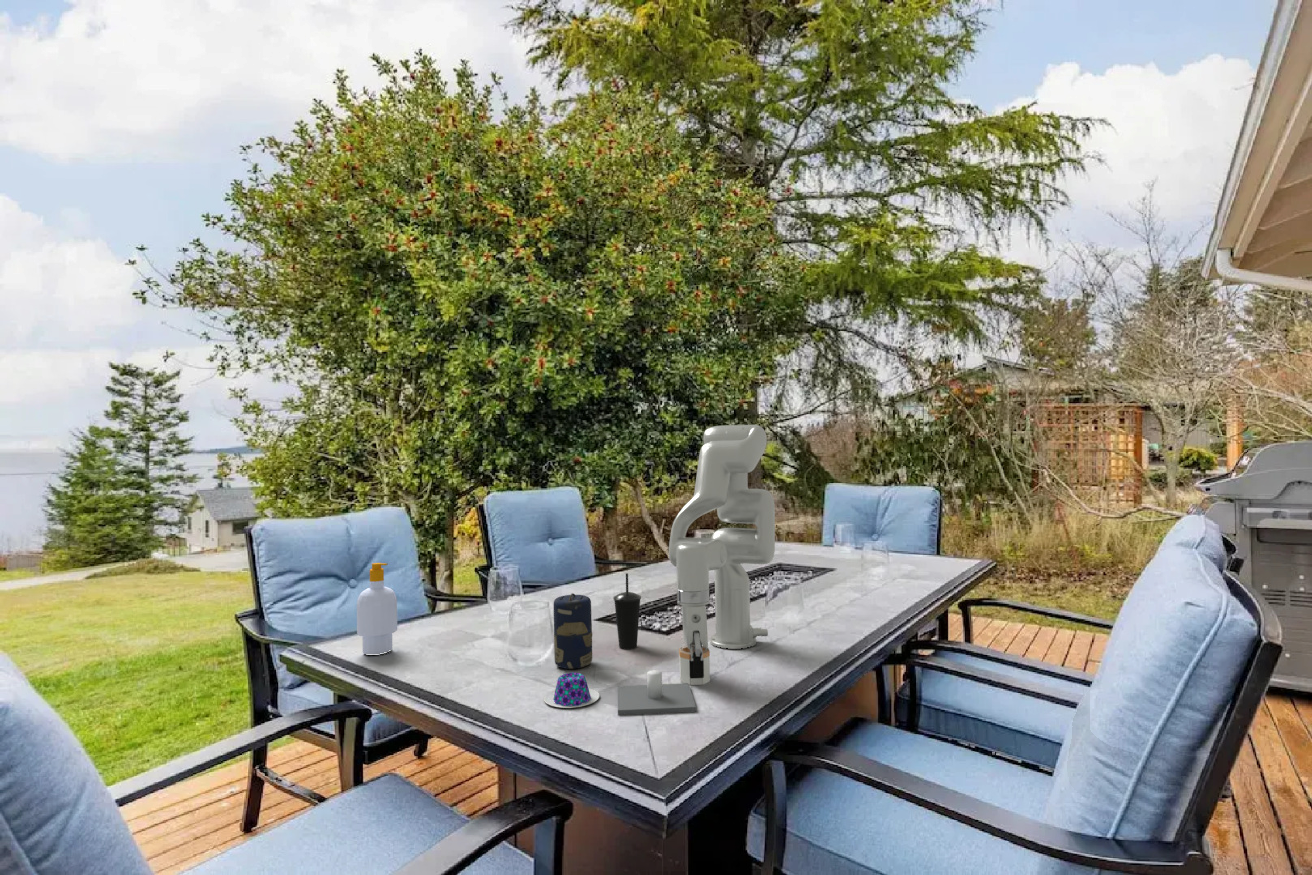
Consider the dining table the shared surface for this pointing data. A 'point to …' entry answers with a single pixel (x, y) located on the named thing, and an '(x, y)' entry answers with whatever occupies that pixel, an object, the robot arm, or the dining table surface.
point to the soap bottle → (377, 613)
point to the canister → (572, 631)
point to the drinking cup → (627, 617)
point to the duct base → (654, 706)
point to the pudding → (572, 691)
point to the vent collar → (685, 670)
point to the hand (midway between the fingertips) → (694, 671)
